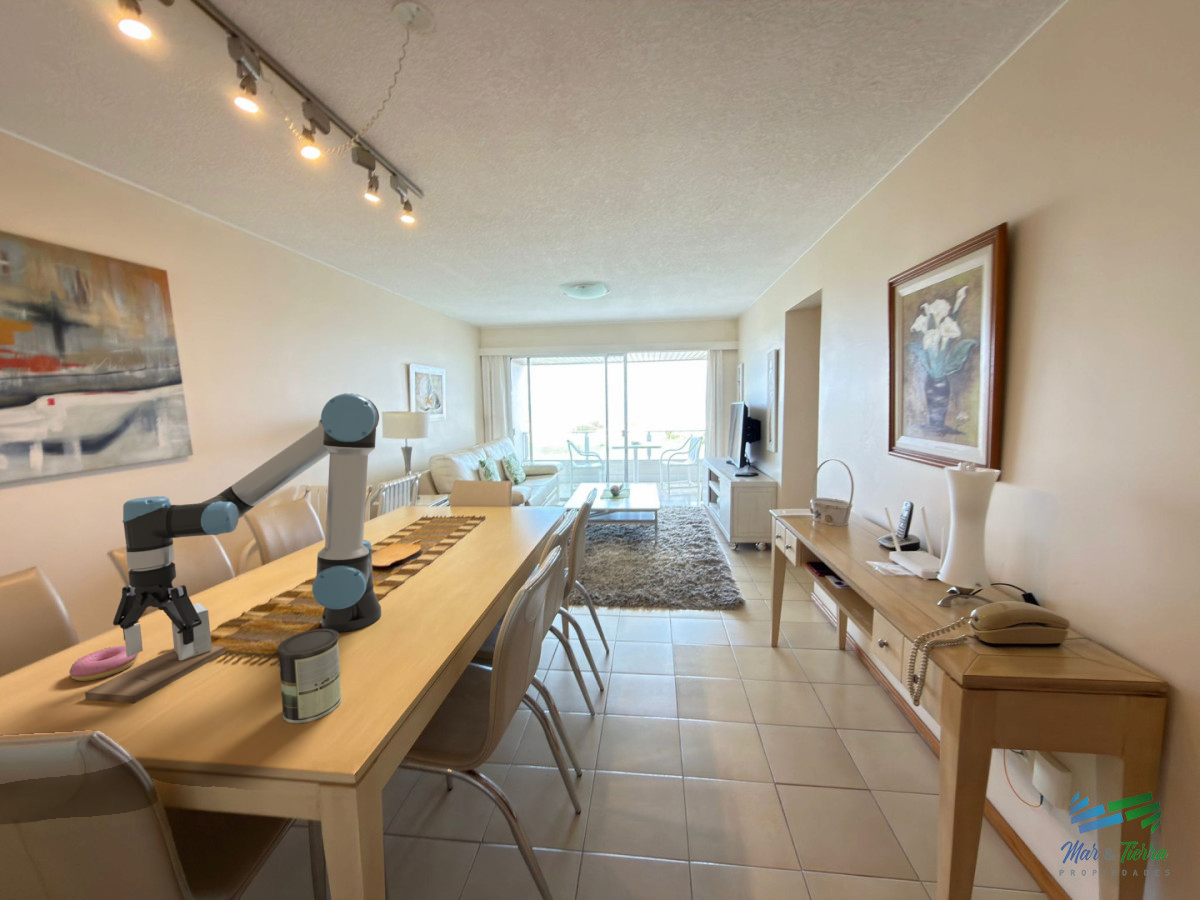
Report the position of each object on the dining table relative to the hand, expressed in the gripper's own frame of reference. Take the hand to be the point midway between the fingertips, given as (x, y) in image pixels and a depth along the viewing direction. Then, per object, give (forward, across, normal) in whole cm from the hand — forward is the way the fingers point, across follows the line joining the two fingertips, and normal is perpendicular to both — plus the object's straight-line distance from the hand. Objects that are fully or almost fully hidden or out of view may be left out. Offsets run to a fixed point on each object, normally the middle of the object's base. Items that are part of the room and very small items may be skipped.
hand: (160, 655), depth 103 cm
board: (+4, 0, 0) cm, 4 cm away
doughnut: (+5, +15, 0) cm, 16 cm away
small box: (+3, 0, -7) cm, 8 cm away
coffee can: (+5, -44, +7) cm, 45 cm away
